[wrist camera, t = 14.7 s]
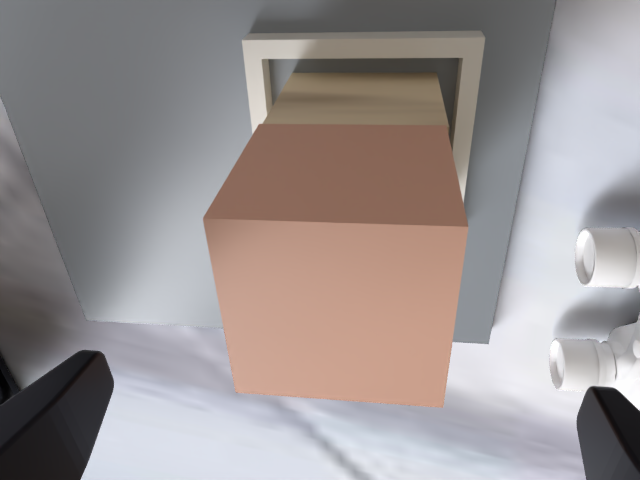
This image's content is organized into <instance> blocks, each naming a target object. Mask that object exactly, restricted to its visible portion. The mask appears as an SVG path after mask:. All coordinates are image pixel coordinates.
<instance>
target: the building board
mask: <svg viewBox="0 0 640 480" xmlns="http://www.w3.org/2000/svg"><path fill="white" fill-rule="evenodd" d="M555 4H556V0H0V96H1V99H2V101H3V104H4V106H5V109H6V112H7V114H8V117H9V120H10V122H11V125H12V127H13V130H14V133H15V135H16V138H17V141H18V143H19V146H20V148H21V151H22V154H23V156H24V159H25V162H26V164H27V167H28V169H29V172H30V175H31V177H32V180H33V183H34V185H35V188H36V190H37V193H38V196H39V198H40V201H41V203H42V206H43V209H44V211H45V214H46V217H47V219H48V222H49V224H50V227H51V230H52V232H53V235H54V238H55V240H56V243H57V245H58V248H59V251H60V253H61V256H62V259H63V261H64V264H65V266H66V269H67V272H68V274H69V277H70V279H71V282H72V285H73V287H74V290H75V293H76V295H77V298H78V300H79V303H80V306H81V308H82V311H83V314H84V316H85V319H86V320H88V321H105V322H122V323H139V324H156V325H173V326H190V327H207V328H223V323H222V318H221V312H220V307H219V302H218V297H217V291H216V286H215V281H214V276H213V270H212V265H211V260H210V255H209V249H208V244H207V239H206V234H205V228H204V223H203V217H204V215H205V214H206V212H207V210H208V209H209V207H210V205H211V204H212V202H213V200H214V199H215V197H216V195H217V194H218V192H219V190H220V189H221V187H222V185H223V184H224V182H225V180H226V179H227V177H228V175H229V173H230V172H231V170H232V168H233V167H234V165H235V163H236V162H237V160H238V158H239V157H240V155H241V153H242V152H243V150H244V148H245V147H246V145H247V143H248V142H249V140H250V138H251V137H252V135H253V133H254V131H255V130H256V128H257V126H258V125H259V124H263V122H264V120H265V119H266V117H267V115H268V113H269V112H270V110H271V108H272V107H273V105H274V103H275V101H276V100H277V98H278V96H279V95H280V93H281V91H282V89H283V88H284V86H285V84H286V82H287V81H288V79H289V77H290V76H291V74H292V73H422V72H437V76H438V80H439V85H440V89H441V93H442V98H443V102H444V107H445V111H446V115H447V120H448V124H449V133H448V135H449V140H450V144H451V149H452V153H453V158H454V162H455V167H456V172H457V176H458V181H459V185H460V190H461V195H462V199H463V204H464V208H465V213H466V217H467V222H468V234H467V241H466V248H465V256H464V263H463V270H462V277H461V284H460V291H459V298H458V305H457V312H456V319H455V327H454V334H453V341H452V342H463V343H480V344H489V339H490V334H491V329H492V324H493V319H494V314H495V309H496V303H497V298H498V293H499V288H500V283H501V278H502V273H503V268H504V263H505V258H506V253H507V248H508V243H509V237H510V232H511V227H512V222H513V217H514V212H515V207H516V202H517V197H518V192H519V187H520V182H521V177H522V171H523V166H524V161H525V156H526V151H527V146H528V141H529V136H530V131H531V126H532V121H533V116H534V110H535V105H536V100H537V95H538V90H539V85H540V80H541V75H542V70H543V65H544V60H545V55H546V50H547V44H548V39H549V34H550V29H551V24H552V19H553V14H554V9H555Z"/></svg>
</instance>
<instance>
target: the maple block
mask: <svg viewBox="0 0 640 480" xmlns="http://www.w3.org/2000/svg"><path fill="white" fill-rule="evenodd" d="M263 124H346V125H446V126H447V130H448V133H449V124H448V120H447V115H446V111H445V107H444V102H443V98H442V93H441V89H440V85H439V80H438V76H437V72H422V73H292V74H291V76H290V77H289V79H288V81H287V82H286V84H285V86H284V88H283V89H282V91H281V93H280V95H279V96H278V98H277V100H276V101H275V103H274V105H273V107H272V108H271V110H270V112H269V113H268V115H267V117H266V119H265V120H264V122H263Z"/></svg>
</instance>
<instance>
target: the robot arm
mask: <svg viewBox="0 0 640 480" xmlns="http://www.w3.org/2000/svg"><path fill="white" fill-rule="evenodd" d="M113 388H114V380H113V376H112V374H111V371H110V369H109V366H108V363H107V361H106V358H105V356H104V354H103V353H102V352H100V351H91V350H82V351H79V352H77V353H75V354H74V355H73V356H71V357H70V358H68V359H67V360H65V361H64V362H62V363H61V364H59V365H58V366H57V367H55V368H54V369H52V370H51V371H49V372H48V373H46V374H45V375H43V376H42V377H41V378H39V379H38V380H36V381H35V382H33V383H32V384H30V385H29V386H28V387H26V388H25V389H23V390H22V391H20V392H19V390H18V388H17V386H16V384H15V382H14V381H13V379H12V377H11V375H10V373H9V371H8V369H7V367H6V365H5V364H4V362H3V360H2V358H1V356H0V480H80V479H81V477H82V475H83V473H84V470H85V468H86V466H87V463H88V461H89V458H90V455H91V453H92V450H93V447H94V444H95V441H96V438H97V436H98V433H99V430H100V427H101V424H102V421H103V418H104V416H105V413H106V410H107V407H108V404H109V401H110V398H111V395H112V392H113ZM577 431H578V437H579V442H580V448H581V453H582V459H583V464H584V470H585V475H586V480H640V411H639V410H638V409H637V408H636V407H635V406H634V405H633V404H632V403H631V402H630V401H629V400H628V399H627V398H626V397H625V396H624V395H623V394H622V393H621V392H620V391H618V390H617V389H615V388H613V387H604V386H590V387H589V388H588V389H587V391H586V393H585V396H584V399H583V402H582V404H581V407H580V410H579V412H578V415H577Z"/></svg>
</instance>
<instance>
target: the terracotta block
mask: <svg viewBox="0 0 640 480" xmlns="http://www.w3.org/2000/svg"><path fill="white" fill-rule="evenodd" d="M203 223H204V228H205V234H206V239H207V244H208V249H209V255H210V260H211V265H212V270H213V276H214V281H215V286H216V291H217V297H218V302H219V307H220V312H221V318H222V323H223V328H224V333H225V339H226V344H227V349H228V354H229V360H230V365H231V370H232V375H233V381H234V386H235V391H236V393H249V394H263V395H277V396H290V397H304V398H318V399H331V400H345V401H359V402H373V403H386V404H400V405H414V406H428V407H441V408H443V405H444V397H445V390H446V383H447V376H448V369H449V362H450V355H451V348H452V341H453V334H454V327H455V319H456V312H457V305H458V298H459V291H460V284H461V277H462V270H463V263H464V256H465V248H466V241H467V234H468V222H467V217H466V213H465V208H464V204H463V199H462V195H461V190H460V185H459V181H458V176H457V172H456V167H455V162H454V158H453V153H452V149H451V144H450V140H449V135H448V130H447V126H446V125H346V124H259V125H258V126H257V128H256V130H255V131H254V133H253V135H252V137H251V138H250V140H249V142H248V143H247V145H246V147H245V148H244V150H243V152H242V153H241V155H240V157H239V158H238V160H237V162H236V163H235V165H234V167H233V168H232V170H231V172H230V173H229V175H228V177H227V179H226V180H225V182H224V184H223V185H222V187H221V189H220V190H219V192H218V194H217V195H216V197H215V199H214V200H213V202H212V204H211V205H210V207H209V209H208V210H207V212H206V214H205V215H204V217H203Z"/></svg>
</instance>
